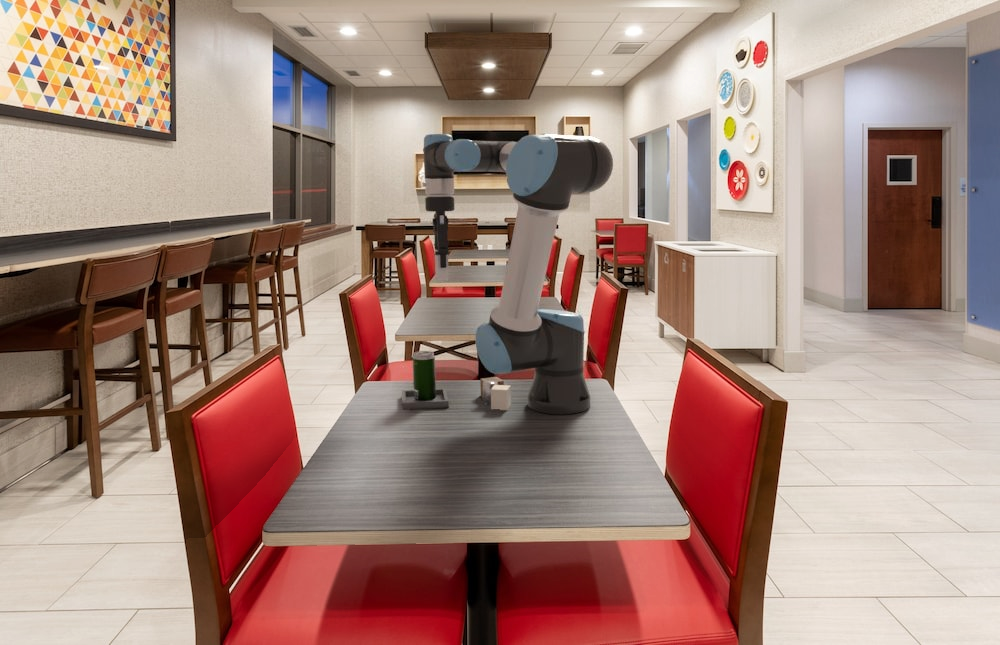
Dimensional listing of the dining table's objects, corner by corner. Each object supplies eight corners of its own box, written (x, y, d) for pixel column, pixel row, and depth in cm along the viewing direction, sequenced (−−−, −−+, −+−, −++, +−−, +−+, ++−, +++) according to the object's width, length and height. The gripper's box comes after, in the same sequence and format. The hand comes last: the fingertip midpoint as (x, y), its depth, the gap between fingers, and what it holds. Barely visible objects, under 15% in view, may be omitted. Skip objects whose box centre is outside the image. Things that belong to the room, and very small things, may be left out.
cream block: (510, 405, 171) (510, 385, 170) (507, 410, 167) (507, 390, 167) (494, 404, 172) (494, 384, 171) (491, 409, 168) (490, 389, 167)
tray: (445, 394, 181) (445, 388, 180) (448, 407, 170) (448, 400, 170) (402, 396, 179) (402, 390, 179) (402, 409, 169) (402, 403, 168)
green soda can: (423, 405, 171) (421, 356, 168) (409, 400, 174) (408, 353, 172) (440, 400, 174) (439, 353, 172) (426, 396, 178) (425, 349, 176)
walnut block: (496, 393, 181) (496, 376, 180) (503, 398, 177) (503, 381, 176) (480, 395, 180) (480, 378, 179) (487, 400, 176) (487, 383, 175)
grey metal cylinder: (496, 399, 176) (496, 380, 175) (498, 404, 172) (498, 384, 171) (482, 400, 175) (482, 381, 174) (484, 404, 172) (483, 384, 171)
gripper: (423, 195, 195) (426, 272, 199) (426, 196, 170) (429, 283, 174) (450, 195, 196) (452, 271, 200) (457, 196, 171) (459, 282, 175)
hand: (441, 277), depth 187 cm, fingers open, 13 cm apart
